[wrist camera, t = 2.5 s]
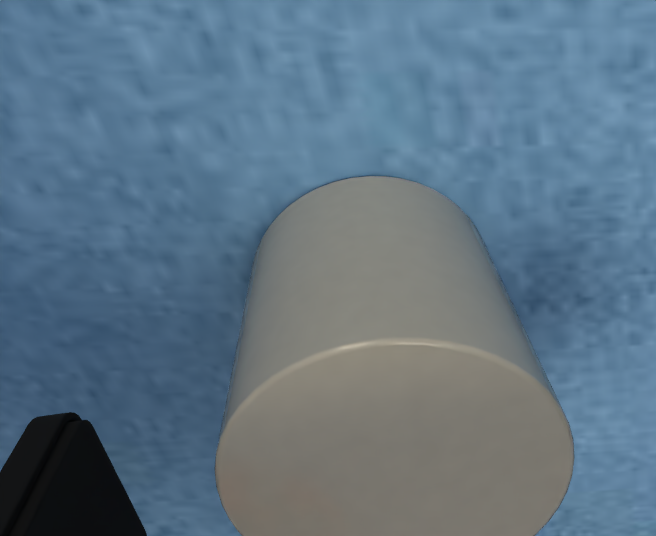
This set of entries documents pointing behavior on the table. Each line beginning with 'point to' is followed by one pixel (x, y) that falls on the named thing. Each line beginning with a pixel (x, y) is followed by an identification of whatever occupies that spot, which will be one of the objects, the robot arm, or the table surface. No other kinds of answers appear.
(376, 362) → the beige cylinder
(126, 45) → the table surface
